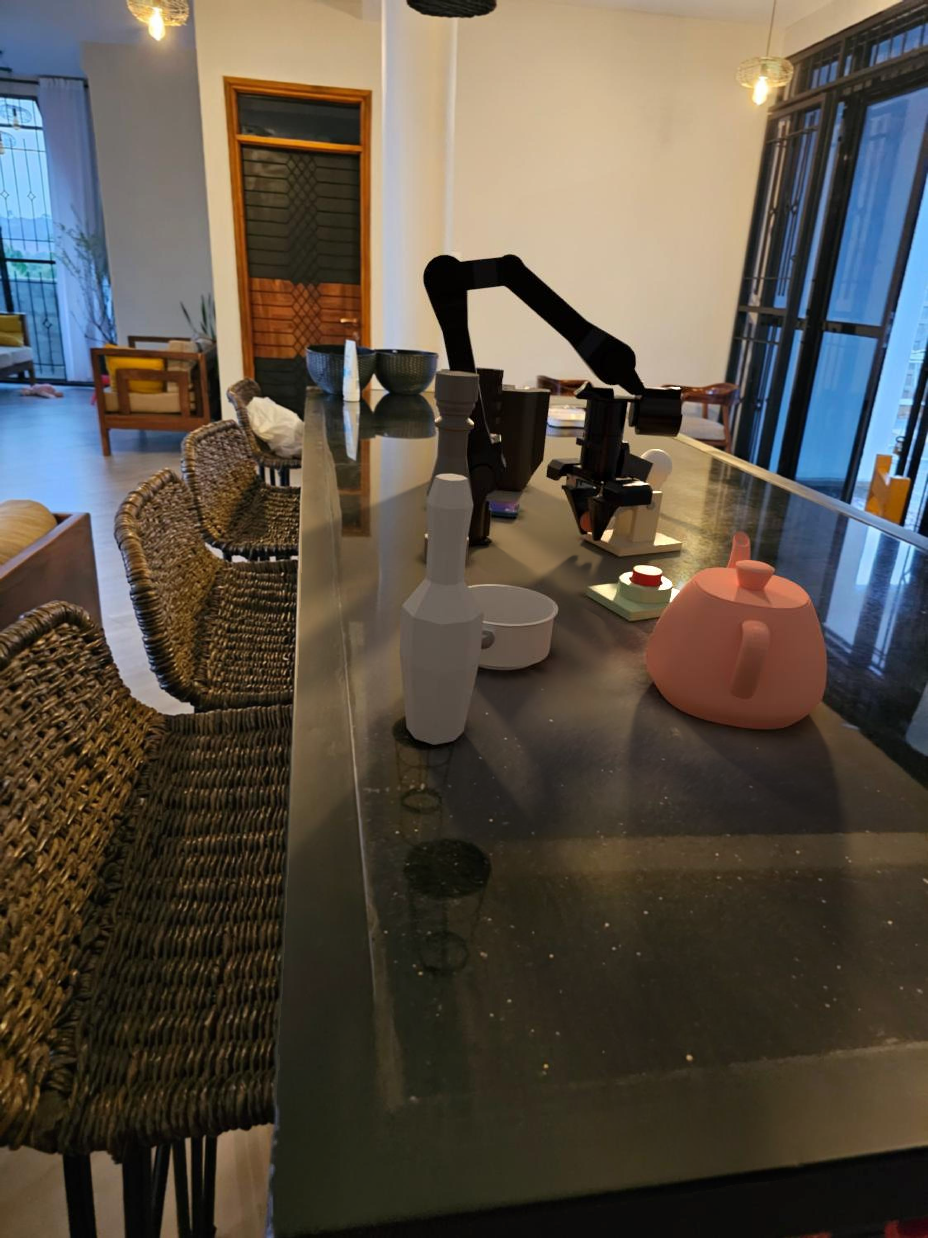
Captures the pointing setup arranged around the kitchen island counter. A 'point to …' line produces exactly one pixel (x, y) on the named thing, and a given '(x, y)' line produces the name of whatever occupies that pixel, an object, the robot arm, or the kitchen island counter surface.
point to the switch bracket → (637, 532)
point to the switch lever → (586, 517)
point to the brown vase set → (515, 425)
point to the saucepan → (514, 626)
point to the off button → (646, 576)
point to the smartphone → (504, 508)
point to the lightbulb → (658, 468)
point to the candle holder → (453, 426)
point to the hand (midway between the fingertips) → (590, 537)
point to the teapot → (740, 646)
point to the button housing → (634, 597)
